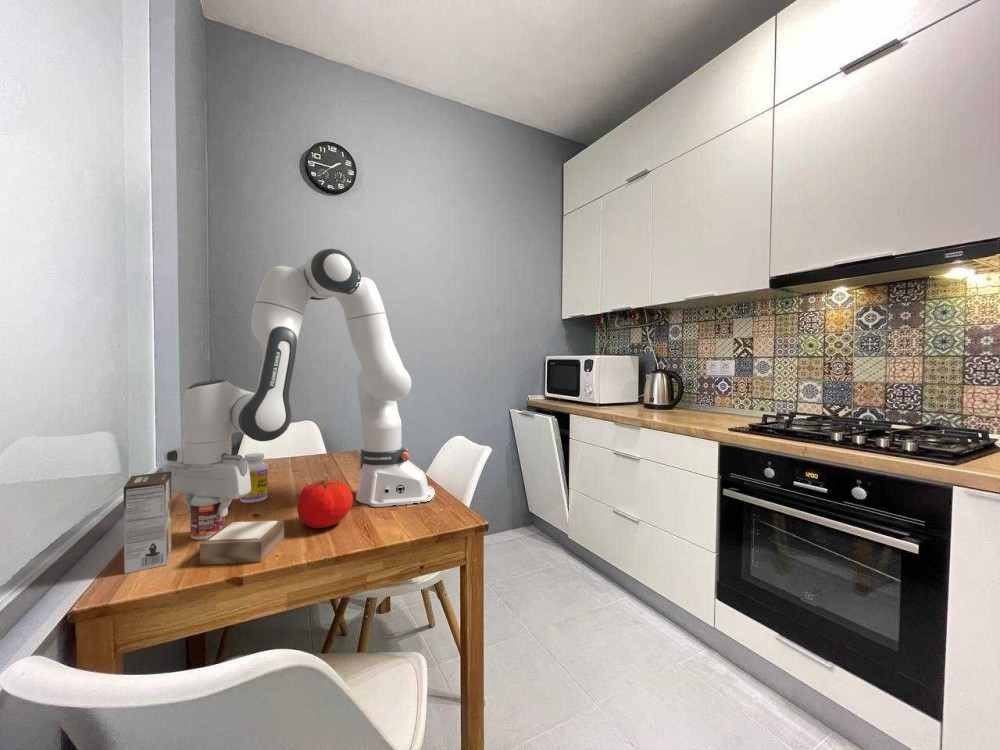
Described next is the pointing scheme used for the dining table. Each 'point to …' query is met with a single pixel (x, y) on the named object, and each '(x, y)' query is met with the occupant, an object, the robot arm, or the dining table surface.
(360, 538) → the dining table surface
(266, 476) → the supplement bottle
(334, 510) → the tomato
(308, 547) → the dining table surface
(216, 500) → the pill bottle
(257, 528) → the base
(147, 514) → the coffee box
